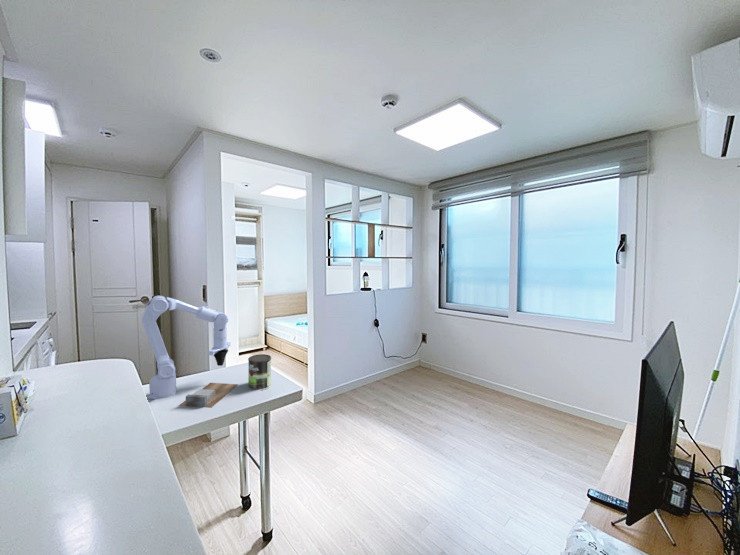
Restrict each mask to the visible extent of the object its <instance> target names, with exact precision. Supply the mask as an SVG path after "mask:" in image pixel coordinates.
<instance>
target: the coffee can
mask: <svg viewBox="0 0 740 555" xmlns="http://www.w3.org/2000/svg"><path fill="white" fill-rule="evenodd" d="M247 361H248V381H247V382H248V386H247V387H248V388H249V389H251V390H261V391H265V390H268V389H269V388H270V387H271V385H272V384H271V382H272V380H271V379H272V378H271V376H272V375H271V372H272V367H271V366H272V364H271V363H272V356H271V355H269V354H266V353H264V354H263V353H262V354H261V353H260V354H254V355H251V356H249V357H248V359H247Z"/></svg>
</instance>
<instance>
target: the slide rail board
mask: <svg viewBox="0 0 740 555" xmlns="http://www.w3.org/2000/svg"><path fill="white" fill-rule="evenodd" d="M238 385H239V384H237V383H221V382H209V383H208V384H206V385H204V387H202V388H201V389H206V390H215V398H214V399H213V400H212V401H211V402H209V403H208V404H207V396H205V395H192V394H187V395H186V396H185V400H184V401H183V402H181V403H180V404H178V406H179V407H195V408H210V409H212V408H213V407H214V406H215V405H216V404H218V403H219V402H220V401H221V400H223V398H225V397H226V396H227V395H228V394H229V393H231V391H233V390H234V389H235V388H236V387H237V386H238Z"/></svg>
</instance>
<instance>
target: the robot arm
mask: <svg viewBox="0 0 740 555" xmlns="http://www.w3.org/2000/svg"><path fill="white" fill-rule="evenodd" d="M146 304H147V305H146V307H145V309H144V312H143V314H142V317H141V322H142V325H143V328H144V331H145V334H146V337H147V339H148V341H149V344H150V347H151V350H152V352H153V355H154V357H155V360H156V364H157V365H156V368H157V374H156V375H153V376H152V377H151V379H150V381H149V382H148V383H149V384H148V386H149V396H148V397H147V398H148V399H150V400H157V399H159V398H168V397H172V396H174V395H175V394H177V372H176V366H175V362H174V360H173V359H172V358H171V357H170V356H169V353H168V351H167V348H166V346H165V342H164V340H163V336H162V334H161V332H160V328H159V326H158V323H157V320H158V318H159V317H160V316H161V315H162V314H164V313H165V312H166V311H167V310H168V311H174V310H179V311H182V312H186V313H190V314H193V315H195V317H196V318H197V319H199V320H201V321H206V322H208V323H213V330H212V331H213V334H212V335H213V336H212V337H213V340H212V341H213V342H212V343H213V347H212V348H211V350H208V355H209V356H213V357H214V359H215V362H216V365H217V367H218V366H219V367H221V366H223V365H224V363H225V359H226V356H227V354H228V352H229V348H230V347H231V342H230V341H227V340H228V333H227V332H228V331H227V329H228V328H227V326H228V325H227V323H228V322H229V318H228V316H227V314H225V313H224V312H222V311H219V309H215V310H214V309H213V308H210V307H209V306H207V305H205V306H199V307H197V306H195V305H191V304H189V303H187V302H184V301H181V300H179V299H176V298H173V297H168V296H166V297H165V296H164V295H155V296H153V297H152V298H151V299H150V300H149V301H147V303H146Z"/></svg>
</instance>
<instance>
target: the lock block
mask: <svg viewBox="0 0 740 555" xmlns="http://www.w3.org/2000/svg"><path fill="white" fill-rule="evenodd" d="M191 395H205V396H207V404H208V403H209V402H211V401H212V400H213V399H214V398H215V390H206V389H202V388H200V389H198V390H196V391H195V392H194V393H192V394H191Z"/></svg>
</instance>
